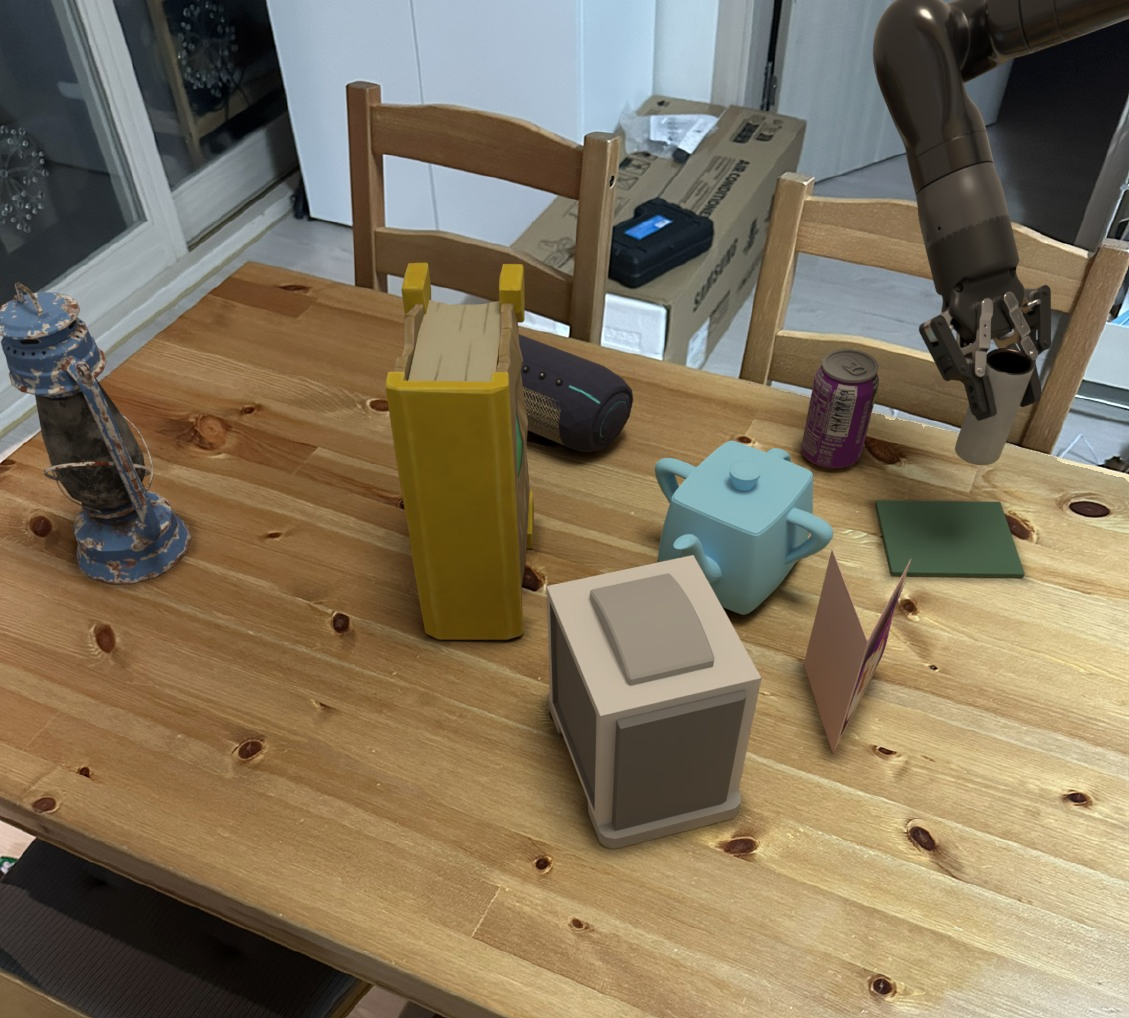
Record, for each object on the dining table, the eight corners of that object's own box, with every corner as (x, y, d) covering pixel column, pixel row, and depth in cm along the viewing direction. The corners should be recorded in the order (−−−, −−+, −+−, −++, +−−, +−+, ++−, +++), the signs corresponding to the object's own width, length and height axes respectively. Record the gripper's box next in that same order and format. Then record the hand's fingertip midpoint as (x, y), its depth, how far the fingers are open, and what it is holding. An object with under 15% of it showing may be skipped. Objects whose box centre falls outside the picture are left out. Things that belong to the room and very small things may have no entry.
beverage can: (872, 459, 126) (896, 368, 116) (828, 481, 123) (849, 390, 114) (831, 430, 129) (851, 339, 120) (787, 450, 127) (804, 359, 117)
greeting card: (841, 757, 98) (877, 644, 86) (767, 727, 101) (792, 614, 89) (882, 677, 104) (920, 561, 93) (811, 650, 107) (840, 535, 95)
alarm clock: (744, 815, 94) (774, 678, 80) (603, 852, 92) (608, 717, 78) (672, 670, 105) (688, 525, 91) (545, 699, 103) (540, 556, 89)
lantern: (48, 542, 118) (-85, 283, 95) (142, 490, 124) (38, 233, 100) (125, 607, 112) (3, 346, 88) (221, 549, 117) (130, 288, 94)
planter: (950, 438, 109) (980, 347, 101) (994, 438, 109) (1028, 347, 101) (959, 466, 106) (990, 374, 98) (1004, 466, 106) (1040, 374, 98)
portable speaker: (428, 408, 133) (419, 334, 125) (477, 370, 138) (471, 297, 130) (594, 478, 124) (595, 403, 116) (640, 435, 129) (643, 361, 121)
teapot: (646, 524, 119) (652, 421, 108) (790, 516, 119) (810, 413, 109) (665, 641, 108) (674, 539, 97) (825, 632, 108) (851, 529, 98)
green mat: (998, 505, 120) (1000, 501, 120) (1023, 578, 113) (1025, 574, 112) (874, 504, 121) (875, 499, 120) (890, 576, 113) (892, 571, 113)
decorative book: (525, 644, 108) (510, 380, 84) (417, 642, 108) (372, 378, 84) (537, 517, 120) (527, 255, 96) (440, 515, 120) (406, 254, 97)
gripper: (928, 230, 93) (974, 422, 96) (1056, 197, 97) (1097, 382, 100) (879, 262, 101) (924, 439, 103) (1000, 229, 104) (1040, 401, 107)
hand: (1008, 410), depth 102 cm, fingers closed on planter, 4 cm apart
